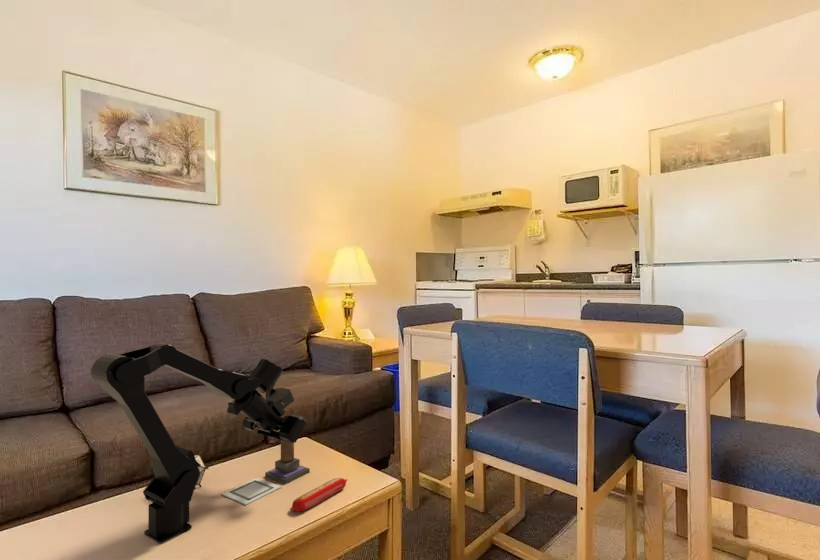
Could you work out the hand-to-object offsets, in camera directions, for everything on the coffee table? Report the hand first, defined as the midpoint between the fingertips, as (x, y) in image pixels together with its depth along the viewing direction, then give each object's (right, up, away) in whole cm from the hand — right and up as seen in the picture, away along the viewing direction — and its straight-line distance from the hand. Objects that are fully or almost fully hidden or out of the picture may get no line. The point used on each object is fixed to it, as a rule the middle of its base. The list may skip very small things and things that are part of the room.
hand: (291, 439), depth 114 cm
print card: (-7, -9, -10) cm, 15 cm away
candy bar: (+11, -9, -14) cm, 20 cm away
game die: (-23, -9, -8) cm, 26 cm away
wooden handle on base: (-1, -7, -1) cm, 7 cm away
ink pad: (-1, -9, -1) cm, 9 cm away
